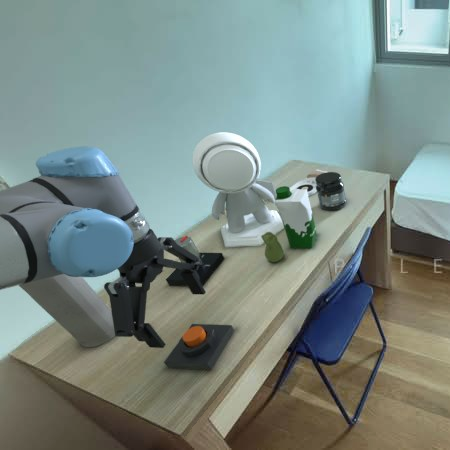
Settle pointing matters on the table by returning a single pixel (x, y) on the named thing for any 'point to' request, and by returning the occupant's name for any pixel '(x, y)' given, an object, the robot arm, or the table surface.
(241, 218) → the white cartoon figure
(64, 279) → the thermos bottle
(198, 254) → the timer knob
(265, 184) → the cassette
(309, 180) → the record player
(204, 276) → the timer panel
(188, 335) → the power button
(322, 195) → the supplement container
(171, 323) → the table surface
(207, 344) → the black button base
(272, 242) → the pear
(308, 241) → the milk carton
